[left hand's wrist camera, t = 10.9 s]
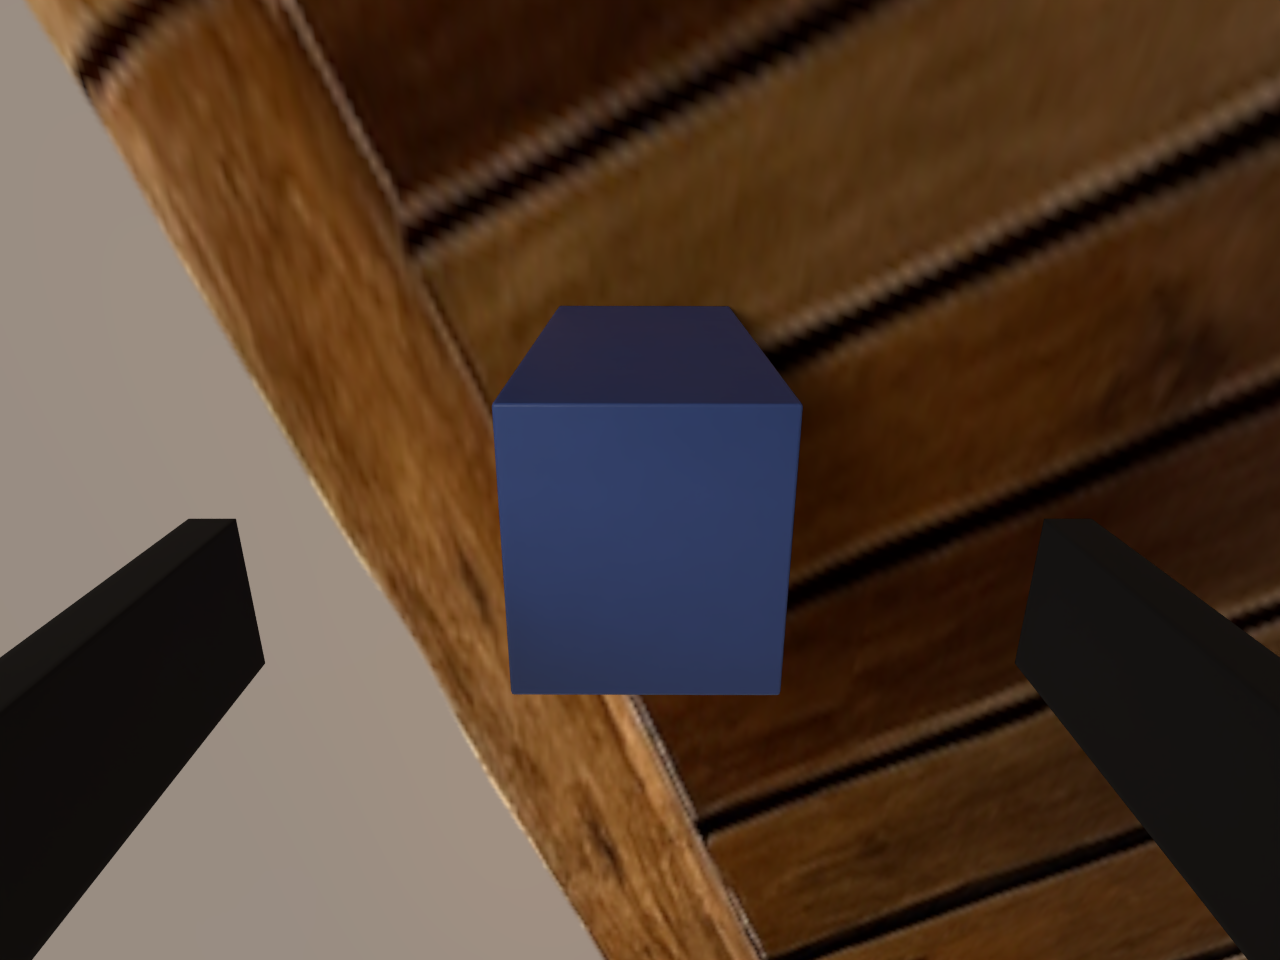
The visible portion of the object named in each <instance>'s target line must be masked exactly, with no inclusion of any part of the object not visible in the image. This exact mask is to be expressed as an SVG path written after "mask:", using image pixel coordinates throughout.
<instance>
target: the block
mask: <svg viewBox="0 0 1280 960" xmlns="http://www.w3.org/2000/svg"><path fill="white" fill-rule="evenodd" d="M802 411H803V406H802V404H801V402H800V401H799V400H798V398H797V397H796V396H795V394H794V393H793V392H792V390H791V389H790V388H789V386H788V385H787V384H786V382H785V381H784V380H783V378H782V377H781V376H780V374H779V373H778V371H777V370H776V369H775V367H774V366H773V365H772V363H771V362H770V361H769V359H768V358H767V357H766V355H765V354H764V353H763V351H762V350H761V349H760V347H759V346H758V345H757V343H756V342H755V341H754V339H753V338H752V337H751V335H750V334H749V333H748V331H747V330H746V329H745V327H744V326H743V325H742V323H741V322H740V321H739V319H738V318H737V317H736V315H735V314H734V313H733V311H732V310H731V309H730V307H728V306H560V307H559V308H558V309H557V311H556V312H555V314H554V315H553V316H552V318H551V319H550V321H549V322H548V324H547V325H546V327H545V328H544V330H543V331H542V333H541V334H540V335H539V337H538V338H537V340H536V341H535V343H534V344H533V346H532V347H531V349H530V350H529V351H528V353H527V354H526V356H525V357H524V359H523V360H522V362H521V363H520V365H519V366H518V368H517V369H516V370H515V372H514V373H513V375H512V376H511V378H510V379H509V381H508V382H507V384H506V385H505V386H504V388H503V389H502V391H501V392H500V394H499V395H498V397H497V398H496V400H495V401H494V403H493V405H492V414H493V429H494V443H495V458H496V473H497V488H498V503H499V517H500V532H501V547H502V562H503V576H504V591H505V606H506V621H507V636H508V650H509V665H510V680H511V691H512V694H613V695H778V694H779V693H780V688H781V675H782V663H783V650H784V637H785V625H786V612H787V600H788V587H789V574H790V562H791V549H792V537H793V524H794V511H795V499H796V486H797V474H798V461H799V448H800V436H801V423H802Z"/></svg>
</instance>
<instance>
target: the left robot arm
mask: <svg viewBox="0 0 1280 960" xmlns="http://www.w3.org/2000/svg"><path fill="white" fill-rule="evenodd" d="M264 664H265V660H264V655H263V650H262V645H261V641H260V635H259V631H258V626H257V621H256V616H255V611H254V606H253V601H252V596H251V591H250V586H249V581H248V576H247V571H246V567H245V562H244V557H243V552H242V547H241V542H240V537H239V532H238V527H237V522H236V519H188V520H186V521H185V522H184V523H182V524H181V525H180V526H178V527H177V528H176V529H174V530H173V531H171V532H170V533H169V534H167V535H166V536H165V537H163V538H162V539H161V540H159V541H158V542H156V543H155V544H154V545H152V546H151V547H150V548H148V549H147V550H146V551H144V552H143V553H142V554H140V555H139V556H137V557H136V558H135V559H133V560H132V561H131V562H129V563H128V564H127V565H125V566H124V567H123V568H121V569H120V570H119V571H117V572H116V573H114V574H113V575H112V576H110V577H109V578H108V579H106V580H105V581H104V582H102V583H101V584H100V585H98V586H97V587H95V588H94V589H93V590H91V591H90V592H89V593H87V594H86V595H85V596H83V597H82V598H80V599H79V600H78V601H76V602H75V603H74V604H72V605H71V606H70V607H68V608H67V609H66V610H64V611H63V612H61V613H60V614H59V615H57V616H56V617H55V618H53V619H52V620H51V621H49V622H48V623H47V624H45V625H44V626H42V627H41V628H40V629H38V630H37V631H36V632H34V633H33V634H32V635H30V636H29V637H28V638H26V639H25V640H23V641H22V642H21V643H19V644H18V645H17V646H15V647H14V648H13V649H11V650H10V651H8V652H7V653H6V654H4V655H3V656H2V657H0V960H32V959H33V958H34V956H35V955H36V954H37V953H38V951H39V950H40V949H41V948H42V946H43V945H44V944H45V943H46V941H47V940H48V939H49V937H50V936H51V935H52V934H53V932H54V931H55V930H56V929H57V927H58V926H59V925H60V923H61V922H62V921H63V920H64V918H65V917H66V916H67V915H68V913H69V912H70V911H71V910H72V908H73V907H74V906H75V904H76V903H77V902H78V901H79V899H80V898H81V897H82V895H83V894H84V893H85V892H86V890H87V889H88V888H89V887H90V885H91V884H92V883H93V882H94V880H95V879H96V878H97V876H98V875H99V874H100V873H101V871H102V870H103V869H104V868H105V866H106V865H107V864H108V862H109V861H110V860H111V859H112V857H113V856H114V855H115V854H116V852H117V851H118V850H119V848H120V847H121V846H122V845H123V843H124V842H125V841H126V839H127V838H128V837H129V836H130V834H131V833H132V832H133V831H134V829H135V828H136V827H137V826H138V824H139V823H140V822H141V820H142V819H143V818H144V817H145V815H146V814H147V813H148V812H149V810H150V809H151V808H152V806H153V805H154V804H155V803H156V801H157V800H158V799H159V798H160V796H161V795H162V794H163V792H164V791H165V790H166V789H167V787H168V786H169V785H170V784H171V782H172V781H173V780H174V778H175V777H176V776H177V775H178V773H179V772H180V771H181V770H182V768H183V767H184V766H185V764H186V763H187V762H188V761H189V759H190V758H191V757H192V756H193V754H194V753H195V752H196V751H197V749H198V748H199V747H200V745H201V744H202V743H203V742H204V740H205V739H206V738H207V736H208V735H209V734H210V733H211V731H212V730H213V729H214V728H215V726H216V725H217V724H218V722H219V721H220V720H221V719H222V717H223V716H224V715H225V714H226V712H227V711H228V710H229V708H230V707H231V706H232V705H233V703H234V702H235V701H236V700H237V698H238V697H239V696H240V695H241V693H242V692H243V691H244V689H245V688H246V687H247V686H248V684H249V683H250V682H251V681H252V679H253V678H254V677H255V675H256V674H257V673H258V672H259V670H260V669H261V668H262V667H263V665H264ZM1015 664H1016V665H1017V667H1018V668H1019V669H1020V670H1021V672H1022V673H1023V674H1024V675H1025V677H1026V678H1027V679H1028V681H1029V682H1030V683H1031V684H1032V686H1033V687H1034V688H1035V689H1036V691H1037V692H1038V693H1039V695H1040V696H1041V697H1042V698H1043V700H1044V701H1045V702H1046V703H1047V705H1048V706H1049V707H1050V709H1051V710H1052V711H1053V712H1054V714H1055V715H1056V716H1057V717H1058V719H1059V720H1060V721H1061V723H1062V724H1063V725H1064V726H1065V728H1066V729H1067V730H1068V731H1069V733H1070V734H1071V735H1072V737H1073V738H1074V739H1075V740H1076V742H1077V743H1078V744H1079V745H1080V747H1081V748H1082V749H1083V751H1084V752H1085V753H1086V754H1087V756H1088V757H1089V758H1090V759H1091V761H1092V762H1093V763H1094V765H1095V766H1096V767H1097V768H1098V770H1099V771H1100V772H1101V773H1102V775H1103V776H1104V777H1105V778H1106V780H1107V781H1108V782H1109V784H1110V785H1111V786H1112V787H1113V789H1114V790H1115V791H1116V792H1117V794H1118V795H1119V796H1120V798H1121V799H1122V800H1123V801H1124V803H1125V804H1126V805H1127V806H1128V808H1129V809H1130V810H1131V812H1132V813H1133V814H1134V815H1135V817H1136V818H1137V819H1138V820H1139V822H1140V823H1141V824H1142V826H1143V827H1144V828H1145V829H1146V831H1147V832H1148V833H1149V834H1150V836H1151V837H1152V838H1153V840H1154V841H1155V842H1156V843H1157V845H1158V846H1159V847H1160V848H1161V850H1162V851H1163V852H1164V854H1165V855H1166V856H1167V857H1168V859H1169V860H1170V861H1171V862H1172V864H1173V865H1174V866H1175V868H1176V869H1177V870H1178V871H1179V873H1180V874H1181V875H1182V876H1183V878H1184V879H1185V880H1186V882H1187V883H1188V884H1189V885H1190V887H1191V888H1192V889H1193V890H1194V892H1195V893H1196V894H1197V896H1198V897H1199V898H1200V899H1201V901H1202V902H1203V903H1204V904H1205V906H1206V907H1207V908H1208V910H1209V911H1210V912H1211V913H1212V915H1213V916H1214V917H1215V918H1216V920H1217V921H1218V922H1219V923H1220V925H1221V926H1222V927H1223V929H1224V930H1225V931H1226V932H1227V934H1228V935H1229V936H1230V937H1231V939H1232V940H1233V941H1234V943H1235V944H1236V945H1237V946H1238V948H1239V949H1240V950H1241V951H1242V953H1243V954H1244V955H1245V957H1246V958H1247V959H1248V960H1280V657H1278V656H1277V655H1276V654H1274V653H1273V652H1272V651H1270V650H1269V649H1267V648H1266V647H1265V646H1263V645H1262V644H1261V643H1259V642H1258V641H1257V640H1255V639H1254V638H1253V637H1251V636H1250V635H1248V634H1247V633H1246V632H1244V631H1243V630H1242V629H1240V628H1239V627H1238V626H1236V625H1235V624H1233V623H1232V622H1231V621H1229V620H1228V619H1227V618H1225V617H1224V616H1223V615H1221V614H1220V613H1219V612H1217V611H1216V610H1214V609H1213V608H1212V607H1210V606H1209V605H1208V604H1206V603H1205V602H1204V601H1202V600H1201V599H1200V598H1198V597H1197V596H1195V595H1194V594H1193V593H1191V592H1190V591H1189V590H1187V589H1186V588H1185V587H1183V586H1182V585H1181V584H1179V583H1178V582H1176V581H1175V580H1174V579H1172V578H1171V577H1170V576H1168V575H1167V574H1166V573H1164V572H1163V571H1162V570H1160V569H1159V568H1157V567H1156V566H1155V565H1153V564H1152V563H1151V562H1149V561H1148V560H1147V559H1145V558H1144V557H1143V556H1141V555H1140V554H1138V553H1137V552H1136V551H1134V550H1133V549H1132V548H1130V547H1129V546H1128V545H1126V544H1125V543H1124V542H1122V541H1121V540H1119V539H1118V538H1117V537H1115V536H1114V535H1113V534H1111V533H1110V532H1109V531H1107V530H1106V529H1104V528H1103V527H1102V526H1100V525H1099V524H1098V523H1096V522H1095V521H1094V520H1092V519H1044V522H1043V527H1042V532H1041V537H1040V542H1039V547H1038V552H1037V557H1036V562H1035V567H1034V571H1033V576H1032V581H1031V586H1030V591H1029V596H1028V601H1027V606H1026V611H1025V616H1024V621H1023V626H1022V631H1021V635H1020V640H1019V645H1018V650H1017V655H1016V660H1015Z"/></svg>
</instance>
